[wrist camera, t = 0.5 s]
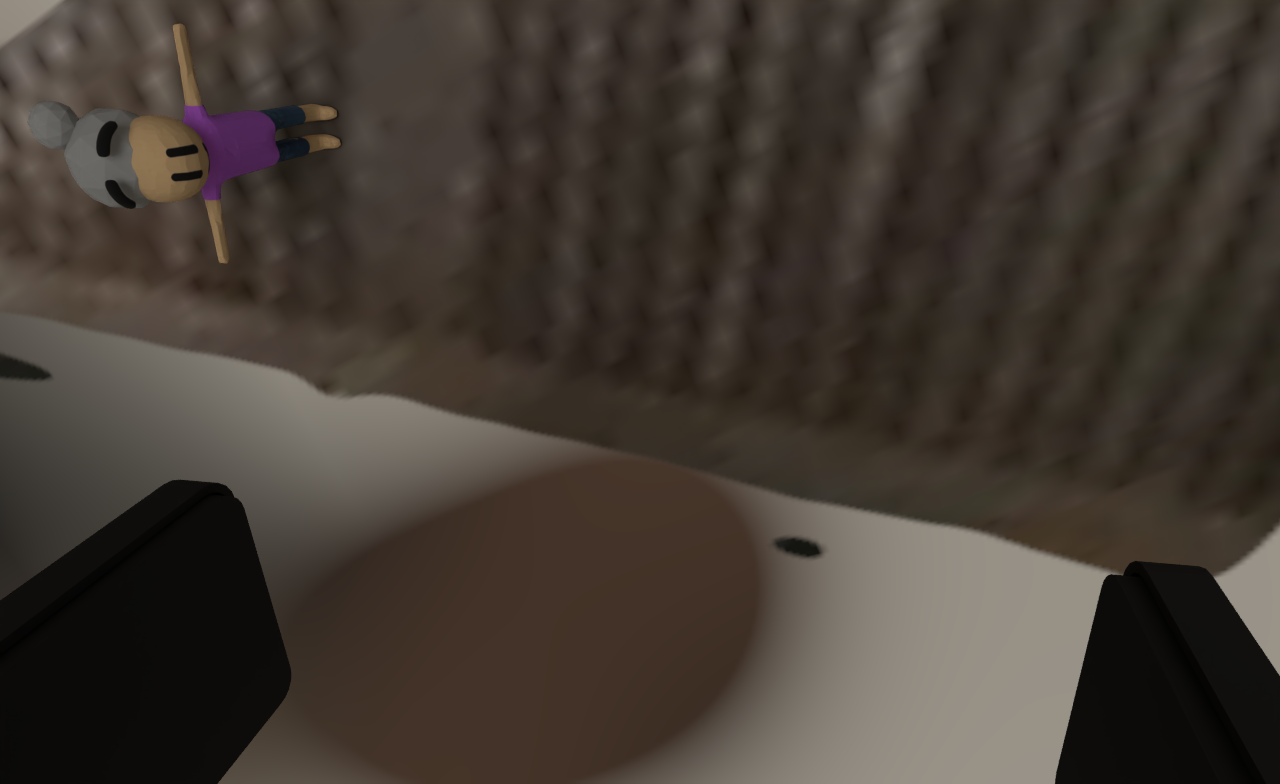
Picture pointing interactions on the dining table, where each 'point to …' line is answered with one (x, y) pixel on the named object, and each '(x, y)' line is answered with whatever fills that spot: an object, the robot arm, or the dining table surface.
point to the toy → (173, 147)
